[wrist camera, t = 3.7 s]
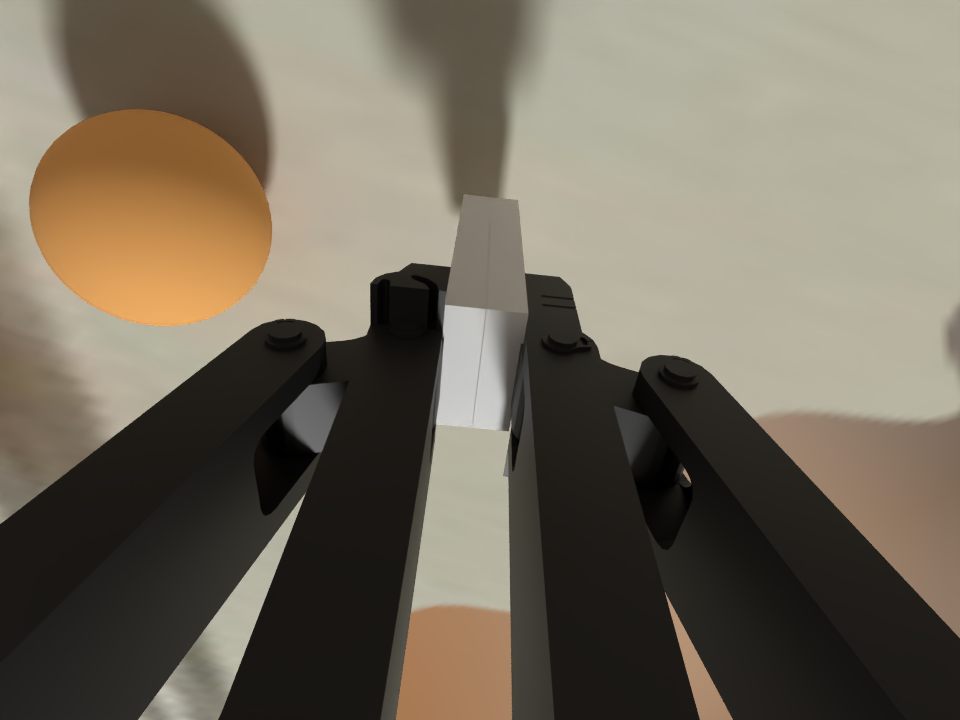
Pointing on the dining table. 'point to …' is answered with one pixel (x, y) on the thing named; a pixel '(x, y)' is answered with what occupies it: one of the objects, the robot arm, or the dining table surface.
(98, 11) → the dining table surface
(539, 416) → the robot arm
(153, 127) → the ball
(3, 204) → the dining table surface
